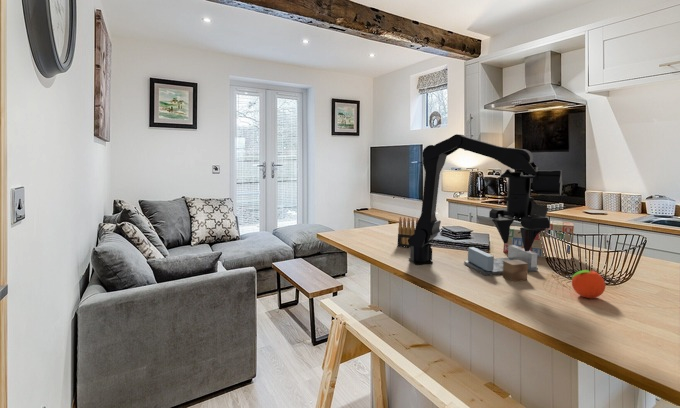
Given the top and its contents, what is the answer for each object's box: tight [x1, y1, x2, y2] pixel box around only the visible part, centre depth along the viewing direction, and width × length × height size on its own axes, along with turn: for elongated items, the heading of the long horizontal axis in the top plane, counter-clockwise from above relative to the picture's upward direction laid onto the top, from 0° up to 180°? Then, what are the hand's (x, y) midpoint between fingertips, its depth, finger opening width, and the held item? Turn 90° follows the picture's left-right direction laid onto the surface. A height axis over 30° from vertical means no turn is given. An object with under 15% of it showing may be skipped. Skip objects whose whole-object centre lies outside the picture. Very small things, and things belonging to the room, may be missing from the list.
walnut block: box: [502, 260, 528, 282], centre depth 102 cm, size 5×4×5 cm
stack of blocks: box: [502, 220, 575, 258], centre depth 126 cm, size 21×6×12 cm, turn 59°
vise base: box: [463, 245, 539, 277], centre depth 112 cm, size 18×12×6 cm, turn 100°
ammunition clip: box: [396, 216, 419, 248], centre depth 139 cm, size 11×2×12 cm, turn 59°
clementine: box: [570, 269, 606, 299], centre depth 88 cm, size 8×7×7 cm
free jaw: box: [467, 246, 495, 271], centre depth 111 cm, size 2×11×4 cm, turn 10°
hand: (515, 246), depth 101 cm, fingers open, 9 cm apart
